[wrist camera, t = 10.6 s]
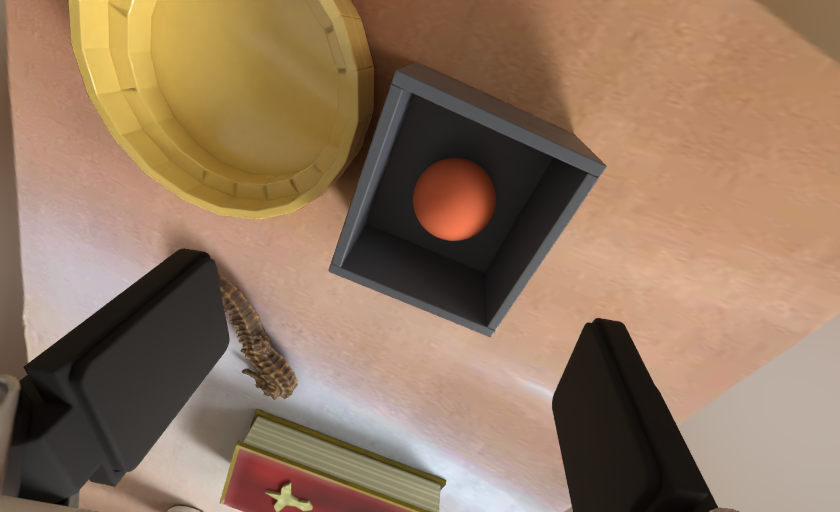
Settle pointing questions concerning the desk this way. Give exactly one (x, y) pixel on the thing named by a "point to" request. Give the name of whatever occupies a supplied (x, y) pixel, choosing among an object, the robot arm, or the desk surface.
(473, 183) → the toy ball
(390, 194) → the bin
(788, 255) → the desk surface
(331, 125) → the bowl
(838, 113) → the desk surface
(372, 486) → the hardcover book
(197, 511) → the pill bottle
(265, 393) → the seahorse
